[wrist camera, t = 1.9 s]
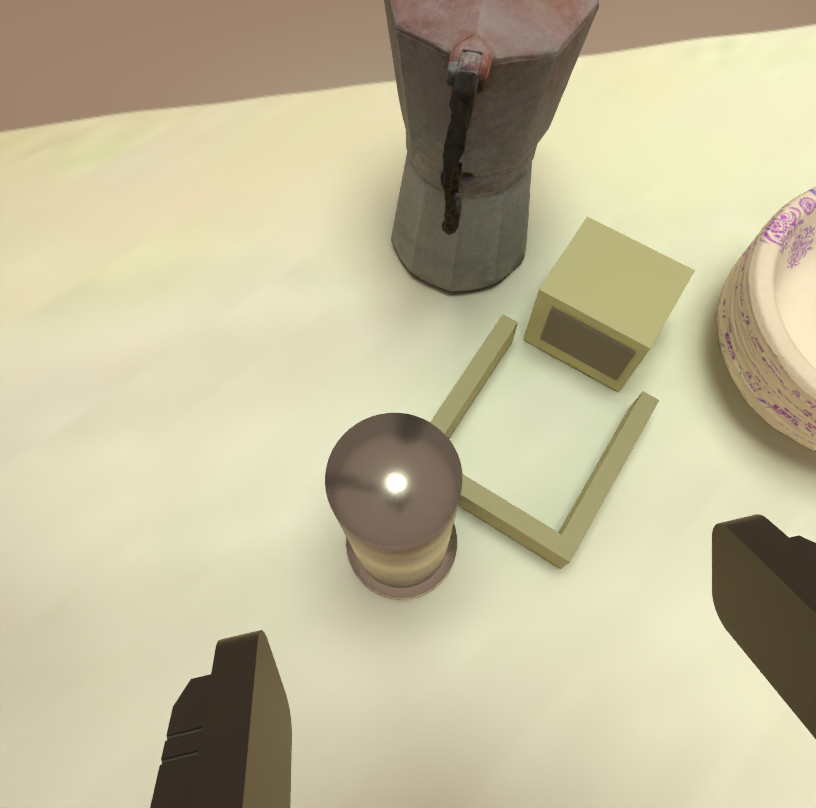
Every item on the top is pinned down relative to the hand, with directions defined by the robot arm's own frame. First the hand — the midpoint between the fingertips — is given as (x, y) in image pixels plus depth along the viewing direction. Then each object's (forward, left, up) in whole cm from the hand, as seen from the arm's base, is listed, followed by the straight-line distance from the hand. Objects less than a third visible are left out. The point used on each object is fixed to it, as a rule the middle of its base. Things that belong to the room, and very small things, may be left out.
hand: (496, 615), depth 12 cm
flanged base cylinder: (+4, +5, -26) cm, 26 cm away
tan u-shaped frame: (+16, +2, -26) cm, 30 cm away
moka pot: (+22, +12, -26) cm, 36 cm away
